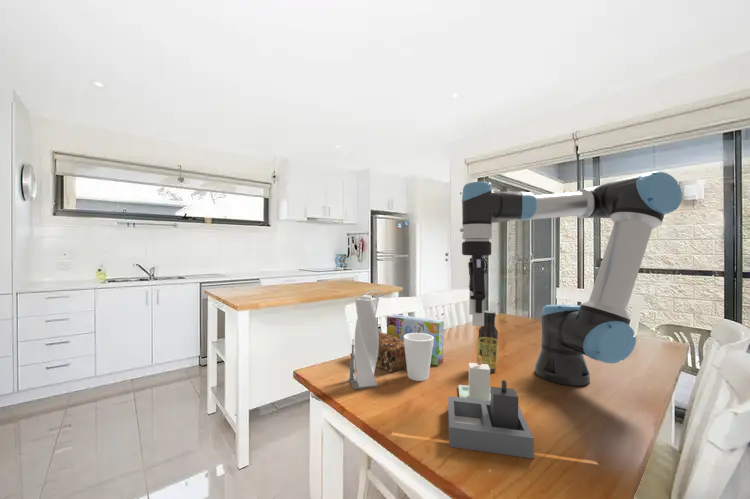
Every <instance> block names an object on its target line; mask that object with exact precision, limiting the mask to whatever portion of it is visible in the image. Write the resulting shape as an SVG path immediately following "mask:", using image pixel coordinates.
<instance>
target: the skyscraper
mask: <svg viewBox="0 0 750 499" xmlns="http://www.w3.org/2000/svg"><path fill="white" fill-rule="evenodd" d="M374 292H377V293H378V296H377V297H373V295H370V293H374ZM381 293H382V291H381V290H378V289H371V290H368V291H367V292H365V294H363V295H362V296H357V297H355V298H354V302H355V309H356V314H357V318H356V324H355V330H354V338H353V339H352V344H351V353H350V364H349V365H350V366H349V378H348V380H349V382H350V385H351V388H352V389H353V390H363V389H372V388H378V384H377V381H376V378H375V371H376V367H377V366H376V363H377V357H378V348H379V333H378V331H379V326H378V322H377V317H376V315H377V311H378V305H379V299H380V296H381Z"/></svg>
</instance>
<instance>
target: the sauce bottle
mask: <svg viewBox="0 0 750 499" xmlns="http://www.w3.org/2000/svg"><path fill="white" fill-rule="evenodd" d="M496 315H497V313H496V312H495V311H491V310H484V326H480V327H479V329H478V337H477V338H478V339H477V352H476V358H477V357H478V356H481V358H482V364H488V365H489V368H490V374H494V373H495V372H496V370H497V360H498V359H497V358H498V341H499V336H498V335H499V333H498V330H497V327H496V326H495V325H496V323H495V321H496Z"/></svg>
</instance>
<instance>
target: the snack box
mask: <svg viewBox="0 0 750 499" xmlns="http://www.w3.org/2000/svg"><path fill="white" fill-rule="evenodd" d="M386 318H387V319H386V334H389V335H392V336H395V337H397V338H399V339H401V340H402V341H404V335H406V334H409V333H424V334H429V335H431V336H433V337H434V346H433V349H432V356H431V363H430V365H432V366H439V365H441V364H442V363H444V341H445V340H444V338H445V337H444V336H445V335H444V334H445V332H444V331H445V330H444V325H445V323H444V322H445V321H444V320H443V319H442V320H439V319H432V318H425V317H418V316H417V317H416V316H412V315H411V316H409V315H402V314H394V313H393V314H390V315H387V316H386Z"/></svg>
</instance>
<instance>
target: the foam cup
mask: <svg viewBox="0 0 750 499" xmlns="http://www.w3.org/2000/svg"><path fill="white" fill-rule="evenodd" d="M433 346H434V337H433V336H431V335H429V334H424V333H409V334H406V335H404V347H405V356H406V365H407V368H406V371H407V372H406V373H407V377H408V379H410V380H413V381H418V382H424V381H427V380H428V379H429V376H430V370H431V364H430V363H431V356H432V349H433Z"/></svg>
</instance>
